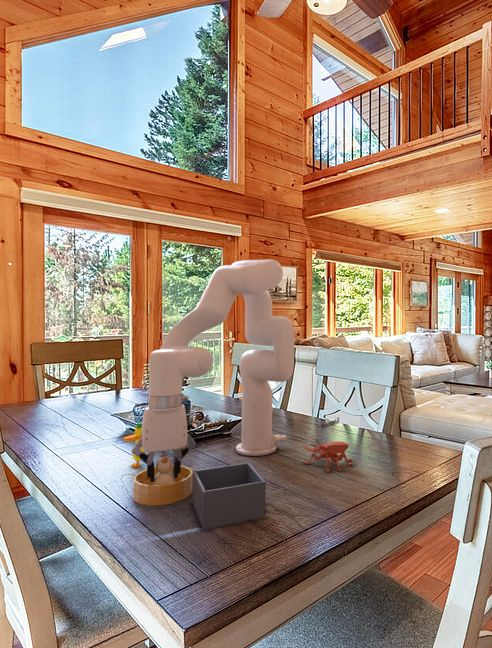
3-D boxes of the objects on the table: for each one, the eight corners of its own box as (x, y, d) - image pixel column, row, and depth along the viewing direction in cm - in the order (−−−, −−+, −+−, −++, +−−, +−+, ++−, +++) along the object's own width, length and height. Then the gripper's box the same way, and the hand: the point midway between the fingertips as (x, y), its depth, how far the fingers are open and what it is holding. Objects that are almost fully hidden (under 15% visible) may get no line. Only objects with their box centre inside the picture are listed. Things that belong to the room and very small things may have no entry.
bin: (248, 493, 108) (249, 462, 109) (265, 517, 97) (265, 481, 97) (191, 504, 103) (192, 470, 103) (202, 530, 91) (203, 492, 91)
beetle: (359, 462, 131) (360, 419, 132) (335, 475, 121) (335, 428, 121) (318, 452, 140) (319, 411, 140) (293, 463, 130) (293, 419, 130)
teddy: (173, 487, 110) (174, 450, 110) (176, 495, 106) (177, 457, 106) (150, 491, 108) (151, 453, 108) (152, 499, 103) (153, 460, 103)
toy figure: (125, 471, 122) (127, 426, 122) (120, 467, 125) (121, 424, 125) (150, 464, 127) (151, 422, 127) (144, 461, 130) (145, 420, 130)
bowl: (187, 481, 116) (188, 462, 116) (196, 501, 104) (197, 480, 104) (131, 490, 110) (132, 469, 110) (134, 512, 98) (134, 489, 98)
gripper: (199, 395, 114) (197, 467, 114) (125, 401, 107) (124, 478, 106) (204, 401, 108) (203, 478, 107) (126, 407, 100) (125, 490, 100)
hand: (163, 477), depth 107 cm, fingers closed on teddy, 4 cm apart
